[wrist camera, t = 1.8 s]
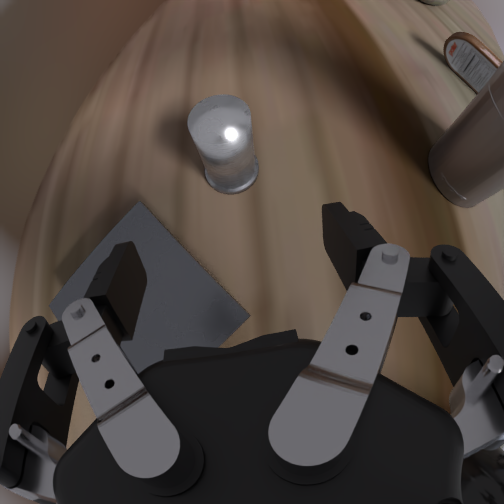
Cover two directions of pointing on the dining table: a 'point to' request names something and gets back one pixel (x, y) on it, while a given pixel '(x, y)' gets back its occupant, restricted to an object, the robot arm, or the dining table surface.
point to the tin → (470, 59)
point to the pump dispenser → (483, 477)
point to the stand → (161, 292)
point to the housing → (225, 142)
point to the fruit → (435, 2)
